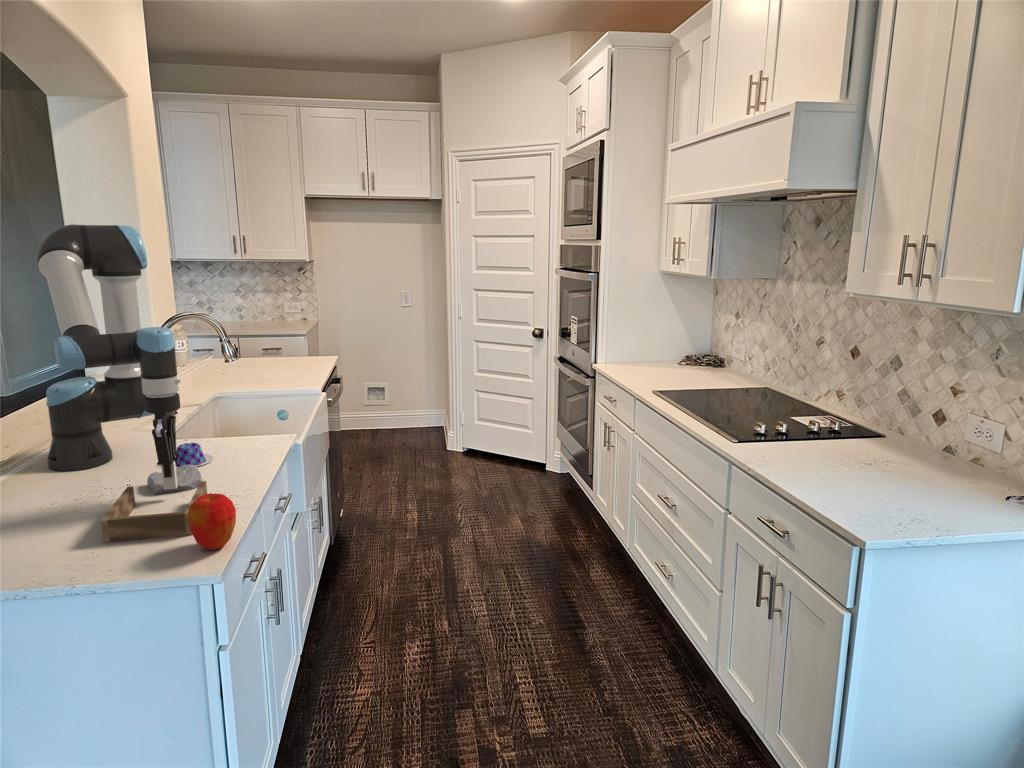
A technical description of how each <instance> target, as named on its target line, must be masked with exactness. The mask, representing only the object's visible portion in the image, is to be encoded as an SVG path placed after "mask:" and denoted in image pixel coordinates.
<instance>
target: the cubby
mask: <svg viewBox="0 0 1024 768" xmlns="http://www.w3.org/2000/svg"><path fill="white" fill-rule="evenodd" d="M205 494H208V485H207V480H203V481H201V482H200V484H199V486H198V488H196V489H195V492H194V494H193V496H192V498H191V500H190V501H189V504H188V505H187V508H186V509H185V511H180V512H179V511H177V512H165V513H154V514H142V515H141V514H140V515H131V514H132V512H133V511H134V509H135V507H136V498H135V490H134V486H131V485H129V486H127V487H126V488H125V489H124V490H123V492H122V493H121V494H120V495H119V497H118V498H117V499H116V500H115V502H114V503H113V505H112V506H111V507H110V508H109V509H108V511H107V512H105V515H103V517H102V518H101V520H100V527H101V534H102V543H103V544H106V543H117V542H118V543H119V542H127V541H129V542H131V541H139V540H140V541H141V540H152V539H161V538H162V539H163V538H173V537H182V536H183V537H185V536H193V535H192V533H191V531H190V527H189V523H188V519H187V516H188V512H189V508H190V505H191V504H192V503H193V502H194V501H195V500H196V499H197V498H199V497H200V496H202V495H205Z"/></svg>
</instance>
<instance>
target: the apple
mask: <svg viewBox="0 0 1024 768" xmlns="http://www.w3.org/2000/svg"><path fill="white" fill-rule="evenodd" d="M236 511H237V509H236V506H235V504H234V503H233V501H232V499H230V498H229V497H228V496H227V495H225V494H222V493H212V492H209V493H207V494H205V495H202V496H200V497H199V498H197V499H196V500H195V501H194V502H193V503H192V504H191V505H190V508H189V512H188V516H187V519H188V523H189V527H190V531H191V533H192V535H191V536H192V537H193V539H194V540H195V542H196V544H197V545H198V546H200V547H202V548H204V549H207V550H219V549H220V550H221V549H222V548H223V547H224V546H226V544H227V543H228V542H229V541H230V540H231V538H232V536H233V533H234V530H235V527H236V522H237V519H236V518H237V517H236V516H237V515H236V513H237V512H236Z"/></svg>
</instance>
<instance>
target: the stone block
mask: <svg viewBox="0 0 1024 768" xmlns="http://www.w3.org/2000/svg"><path fill="white" fill-rule="evenodd" d="M176 467H177V468H176V476H177V486H178V487H177V488H176V489H166V490H164V486H163V476H162V472H157V471H154V472H152V473H150V474H149V475H148V476H147V486H148V488H149V489H150V490H152V491H153V493H154V494H155V495H159V494H167V493H173V492H184V491H189V490H194V489H195V490H196V489H197V488H198V486H199V484H200V482H201V481H204V480H203V476H202V474H201V472H200V470H199V469H198V465H196V466H194V465H183V466H180V467H178V466H176Z"/></svg>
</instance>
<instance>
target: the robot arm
mask: <svg viewBox="0 0 1024 768" xmlns="http://www.w3.org/2000/svg"><path fill="white" fill-rule="evenodd" d="M36 263H37V266H38V270H39V272H40V274H41V275H43V276H44V277H45V278H46V281H47V285H48V289H49V295H50V296H51V300H52V301H51V302H52V304H53V305H52V306H53V308H54V313H55V316H56V319H57V323H58V328H59V331H60V335H61V336H59V337H56V338H55V339H54V342H53V343H54V353H55V359H56V363H57V366H58V368H60V369H62V370H84V369H85V370H86V369H92V368H102V367H103V368H104V367H109V368H108V369H107V370H106V371H105V372H104V374H103V377H104V380H100V381H97V379H96V378H95V377H94V376H88V375H87V376H78V377H72V378H68V379H64V380H61V381H57V382H55V383H53V384H51V385H50V386H49V387H47V389H46V391H45V392H46V393H45V395H46V403H45V404H46V407H47V408H48V409H47V410H48V416H49V417H48V419H49V424H50V425H49V426H50V432H51V443H50V447H49V449H48V450H49V451H48V454H47V457H46V458H47V461H46V462H47V466H48V468H49V470H53V471H57V472H58V471H59V472H73V471H74V472H75V471H81V470H87V469H92V468H95V467H99V466H102V465H105V464H107V463H109V462H110V461H112V459H113V458H114V456H113V450H112V448H111V446H110V444H109V443H108V441H107V439H106V436H105V435H104V433H103V429H102V424H103V423H109V422H115V421H124V420H132V419H141V418H145V417H150V416H152V415H153V416H154V419H152V426H153V429H152V430H151V434H152V437H153V440H154V446H155V452H156V458H157V463H156V464H157V466H161V473H162V476H163V486H164V490H166V489H176V488H177V487H178V486H177V476H176V467H177V465H175V461H174V460H178V459H179V457H175V456H176V455H177V452H176V450H177V431H176V423H177V421H176V419H177V416H176V415H175V414H174V415H173V412H176V411H178V410H179V409H180V408H181V400H180V399H181V398H180V397H181V396H180V393H178V391H179V390H180V389H179V384H181V382H182V381H181V379H178V368H177V367H178V365H177V357H176V356H177V355H176V341H175V337H174V333H173V332H174V331H173V330H172V329H171V328H169V327H164V326H152V327H151V326H150V327H144V328H141V319H140V308H139V299H138V290H137V289H138V288H137V281H138V280H139V279H140V278H141V277H142V270H145V269H147V267H148V257H147V252H146V247H145V244H144V240H143V238H142V236H141V234H140V232H139V231H138V230H137V229H136V228H135V227H133V226H127V225H119V224H113V225H112V224H109V225H107V224H106V225H105V224H101V225H100V224H74V223H73V224H67V225H63V226H60V227H57V228H55V229H54V230H53V231H51V232H50V233H48V235H46V236H45V237H44V238H43V240H42V241H41V243H40V244H39V246H38V248H37V253H36ZM84 270H88V271H89V270H90V271H91V274H92V277H93V278H94V279H95V280H96V281H98V282H99V285H100V286H99V287H100V294H101V301H102V303H101V304H102V313H103V320H104V329H105V333H104V334H103V333H100V329H99V326H98V322H97V319H96V315H95V312H94V309H93V306H92V303H91V300H90V296H89V293H88V290H87V287H86V283H85V279H84V277H83V271H84Z"/></svg>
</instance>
